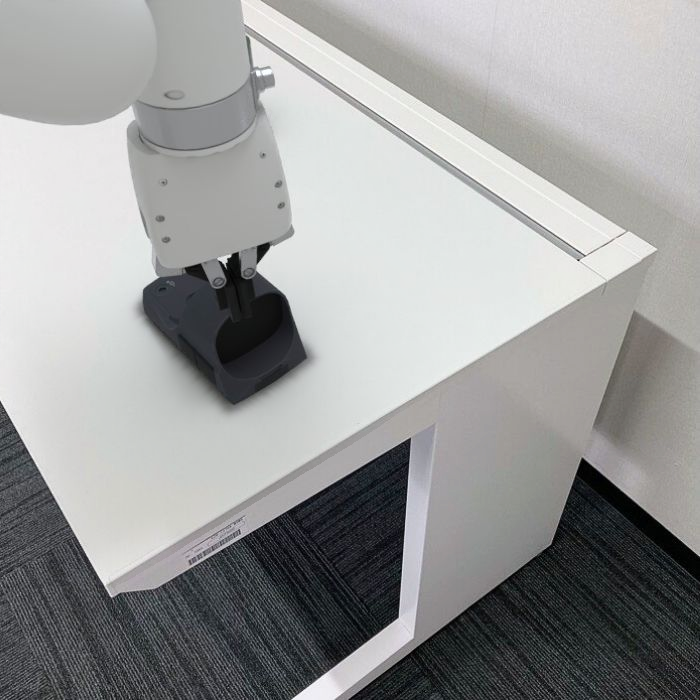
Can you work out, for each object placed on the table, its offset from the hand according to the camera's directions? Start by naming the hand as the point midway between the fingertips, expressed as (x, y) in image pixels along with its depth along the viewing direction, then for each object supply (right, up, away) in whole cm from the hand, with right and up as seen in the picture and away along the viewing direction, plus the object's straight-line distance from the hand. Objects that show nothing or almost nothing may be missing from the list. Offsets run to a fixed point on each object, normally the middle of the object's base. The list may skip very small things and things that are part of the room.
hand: (237, 308), depth 61 cm
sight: (-4, -2, +17) cm, 17 cm away
